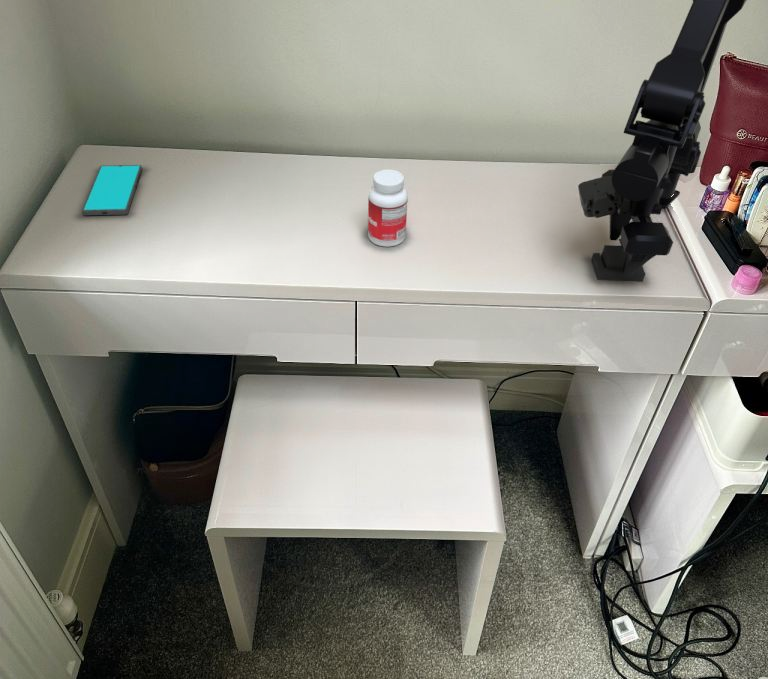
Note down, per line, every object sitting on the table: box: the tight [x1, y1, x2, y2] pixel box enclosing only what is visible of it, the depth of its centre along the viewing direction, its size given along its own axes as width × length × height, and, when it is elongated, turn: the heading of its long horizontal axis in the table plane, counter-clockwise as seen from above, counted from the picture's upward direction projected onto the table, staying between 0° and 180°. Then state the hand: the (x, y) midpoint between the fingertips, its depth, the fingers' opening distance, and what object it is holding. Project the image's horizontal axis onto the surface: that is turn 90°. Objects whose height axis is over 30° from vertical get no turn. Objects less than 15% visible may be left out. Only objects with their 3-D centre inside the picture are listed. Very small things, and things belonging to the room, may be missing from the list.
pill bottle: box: [367, 168, 409, 248], centre depth 111 cm, size 6×6×11 cm
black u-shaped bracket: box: [590, 252, 646, 282], centre depth 109 cm, size 5×7×2 cm
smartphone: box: [81, 164, 143, 216], centre depth 122 cm, size 7×1×15 cm
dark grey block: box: [600, 244, 625, 269], centre depth 109 cm, size 4×4×3 cm
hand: (619, 257), depth 109 cm, fingers open, 9 cm apart
